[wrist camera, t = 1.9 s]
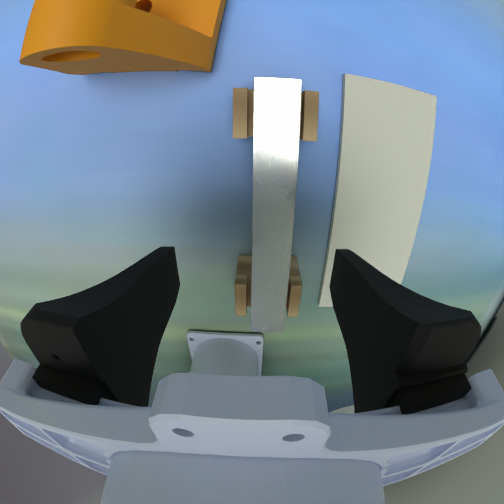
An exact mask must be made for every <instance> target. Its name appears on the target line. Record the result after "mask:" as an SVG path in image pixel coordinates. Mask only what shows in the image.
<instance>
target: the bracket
mask: <svg viewBox="0 0 504 504" xmlns="http://www.w3.org/2000/svg"><path fill="white" fill-rule="evenodd" d="M225 4H226V0H35V2H34V5H33V8H32V12H31V15H30V18H29V22H28V25H27V29H26V33H25V37H24V41H23V46H22V51H21V56H20V63H21V64H23V65H28V66H34V67H39V68H44V69H48V70H53V71H58V72H62V73H66V74H75V75H85V74H93V73H103V72H111V73H115V72H133V71H178V70H188V71H204V72H211V69H212V64H213V59H214V54H215V49H216V44H217V39H218V34H219V30H220V25H221V21H222V17H223V12H224V8H225Z"/></svg>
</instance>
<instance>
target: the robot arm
mask: <svg viewBox="0 0 504 504" xmlns="http://www.w3.org/2000/svg"><path fill="white" fill-rule="evenodd" d="M179 287H180V281H179V275H178V269H177V262H176V256H175V249H174V247H160V248H158V249H156V250H155V251H153V252H151V253H150V254H148V255H147V256H145V257H144V258H142V259H141V260H139V261H138V262H136V263H135V264H133V265H132V266H130V267H128V268H127V269H125V270H124V271H122V272H120V273H119V274H117V275H115V276H114V277H112V278H110V279H108V280H106V281H104V282H102V283H100V284H98V285H96V286H93V287H91V288H88V289H86V290H84V291H81V292H78V293H76V294H73V295H70V296H66V297H63V298H59V299H55V300H51V301H46V302H41V303H36V304H35V305H34V306H33V307H32V309H31V310H30V311H29V312H28V314H27V315H26V316H25V317H24V319H23V320H22V322H21V332H22V335H23V337H24V339H25V341H26V343H27V344H28V346H29V348H30V349H31V351H32V352H33V354H34V355H35V357H36V358H37V360H38V361H39V363H40V365H39V367H38V368H37V369H36V368H35V367H34V366H32V365H30V364H28V363H26V362H23V361H21V360H18V359H14V360H13V362H12V364H11V365H10V367H9V369H8V370H7V372H6V373H5V375H4V377H3V378H2V380H1V382H0V412H1V413H2V414H3V415H4V416H5V417H6V418H7V419H8V420H9V421H10V422H11V423H12V424H13V425H14V426H15V427H17V428H18V429H19V430H20V431H21V432H22V433H24V434H25V435H27V436H28V437H30V438H32V439H33V440H35V441H37V442H39V443H41V444H42V445H44V446H46V447H48V448H50V449H52V450H53V451H55V452H57V453H59V454H61V455H63V456H65V457H67V458H69V459H71V460H73V461H75V462H77V463H79V464H82V465H84V466H86V467H88V468H90V469H93V470H95V471H98V472H100V473H102V474H105V475H107V480H106V483H105V487H104V491H103V495H102V499H101V503H100V504H385V498H384V491H383V486H385V485H389V484H392V483H395V482H398V481H400V480H404V479H406V478H409V477H412V476H414V475H417V474H419V473H422V472H424V471H427V470H429V469H432V468H433V467H436V466H438V465H441V464H443V463H445V462H447V461H449V460H451V459H453V458H456V457H458V456H460V455H462V454H464V453H466V452H467V451H470V450H472V449H474V448H476V447H478V446H479V445H480V444H481V443H483V442H484V441H485V440H486V439H488V438H489V437H490V436H491V435H492V434H494V433H495V432H496V431H497V430H498V429H499V428H500V427H502V426H503V425H504V393H503V390H502V388H501V386H500V384H499V383H498V381H497V379H496V377H495V375H494V373H493V372H492V370H491V369H489V370H486V371H483V372H480V373H478V374H475V375H473V376H472V377H470V378H469V379H467V378H466V375H465V373H466V372H467V370H468V368H467V366H466V364H465V361H466V360H467V358H468V357H469V355H470V354H471V352H472V351H473V349H474V348H475V346H476V344H477V342H478V340H479V338H480V334H481V325H480V324H479V322H478V321H477V319H476V318H475V316H474V315H473V314H472V312H471V311H467V310H463V309H459V308H455V307H451V306H448V305H445V304H442V303H439V302H436V301H434V300H431V299H429V298H426V297H424V296H422V295H420V294H417V293H415V292H413V291H411V290H409V289H408V288H406V287H404V286H402V285H400V284H399V283H397V282H395V281H394V280H392V279H391V278H389V277H388V276H386V275H384V274H383V273H382V272H380V271H379V270H377V269H376V268H375V267H373V266H372V265H370V264H369V263H368V262H366V261H365V260H364V259H362V258H361V257H360V256H358V255H357V254H356V253H354V252H353V251H351V250H349V249H336V250H335V257H334V263H333V269H332V274H331V280H330V285H329V288H330V294H331V299H332V304H333V308H334V311H335V314H336V317H337V320H338V323H339V326H340V329H341V332H342V335H343V338H344V341H345V345H346V349H347V353H348V359H349V365H350V372H351V379H352V387H353V398H354V414H344V413H330V412H328V409H327V403H326V397H325V391H324V387H323V386H321V385H320V384H318V383H316V382H315V381H313V380H311V379H309V378H303V377H295V376H261V372H262V356H263V340H264V337H263V335H261V334H243V333H220V332H204V331H188V332H187V340H188V345H189V350H190V354H191V359H192V365H191V369H190V372H189V373H173V374H170V375H168V376H167V377H165V378H163V379H162V380H160V381H159V383H158V387H157V390H156V394H155V397H154V400H153V404H152V407H148V401H149V394H150V387H151V381H152V375H153V370H154V365H155V361H156V356H157V352H158V348H159V345H160V342H161V339H162V336H163V333H164V331H165V328H166V326H167V323H168V321H169V318H170V316H171V313H172V311H173V308H174V306H175V303H176V299H177V296H178V291H179ZM192 338H193V339H192ZM257 341H260V342H257Z"/></svg>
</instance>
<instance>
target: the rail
mask: <svg viewBox="0 0 504 504" xmlns="http://www.w3.org/2000/svg"><path fill="white" fill-rule="evenodd" d="M300 105H301V79H287V78H266V77H254V144H253V214H252V284H251V332H283V326H284V318H285V309H286V300H287V291H288V281H289V271H290V261H291V250H292V239H293V227H294V214H295V200H296V186H297V170H298V152H299V131H300Z"/></svg>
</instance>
